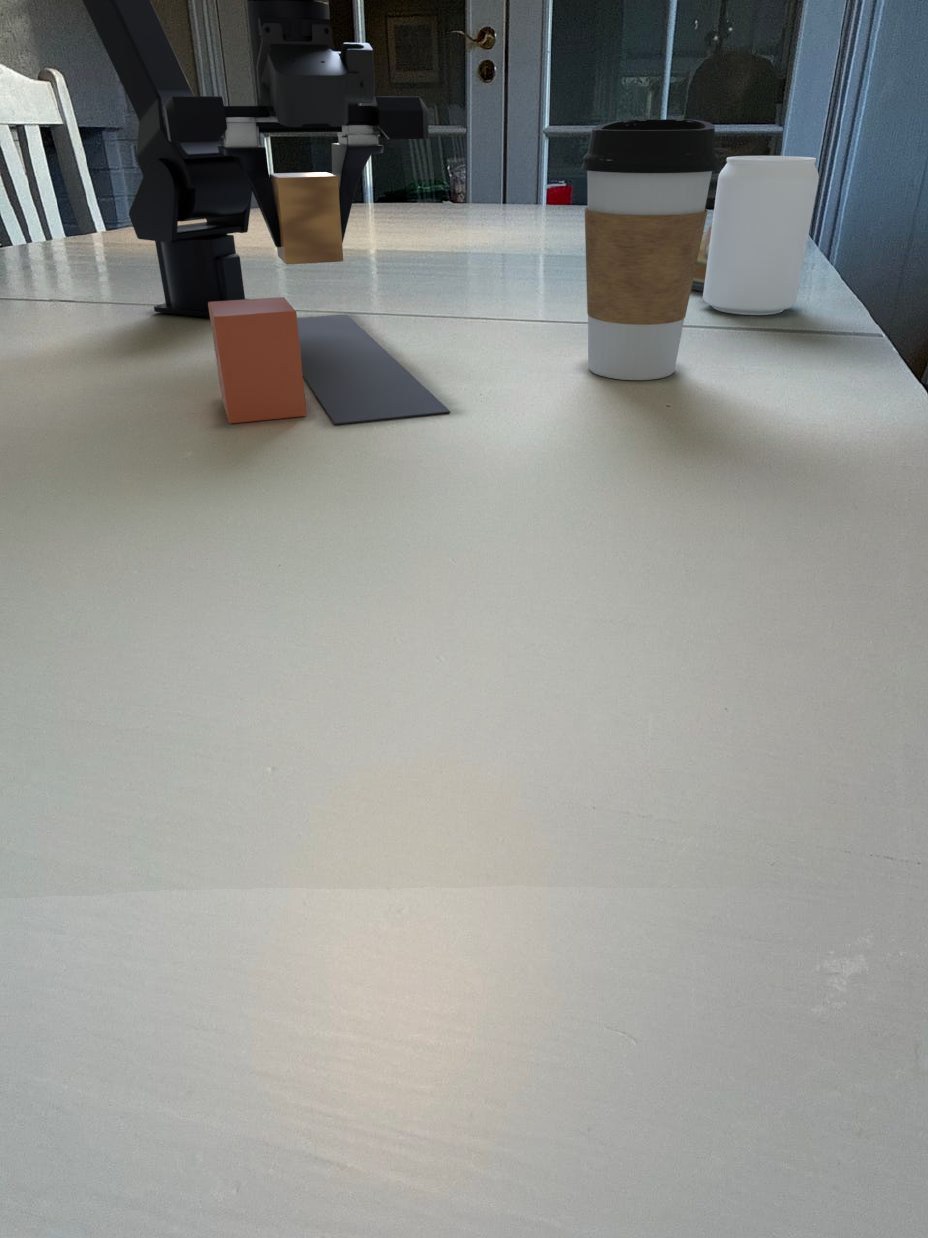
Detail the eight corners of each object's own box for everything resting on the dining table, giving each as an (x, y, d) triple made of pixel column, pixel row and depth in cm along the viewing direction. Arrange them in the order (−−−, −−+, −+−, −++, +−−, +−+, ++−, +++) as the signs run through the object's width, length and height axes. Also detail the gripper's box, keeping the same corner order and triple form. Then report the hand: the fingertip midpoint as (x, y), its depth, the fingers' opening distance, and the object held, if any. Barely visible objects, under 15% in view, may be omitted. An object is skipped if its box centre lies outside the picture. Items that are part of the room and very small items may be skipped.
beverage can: (800, 318, 74) (829, 160, 68) (703, 315, 76) (723, 159, 70) (789, 300, 81) (815, 155, 75) (700, 298, 82) (718, 155, 76)
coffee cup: (699, 359, 62) (730, 118, 55) (685, 390, 56) (718, 120, 48) (584, 350, 65) (599, 119, 57) (557, 379, 58) (569, 121, 50)
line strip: (450, 412, 52) (450, 411, 52) (334, 424, 50) (334, 423, 50) (347, 315, 76) (347, 314, 76) (267, 321, 74) (267, 320, 74)
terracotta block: (229, 424, 50) (213, 316, 47) (222, 402, 54) (207, 301, 51) (306, 416, 51) (296, 310, 48) (295, 395, 55) (284, 296, 52)
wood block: (285, 264, 67) (277, 177, 64) (277, 256, 70) (269, 173, 67) (343, 261, 68) (337, 175, 65) (332, 253, 72) (326, 171, 68)
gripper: (150, -14, 52) (192, 266, 59) (449, -4, 57) (451, 253, 65) (147, 4, 61) (184, 245, 69) (405, 11, 66) (412, 235, 74)
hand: (308, 245), depth 69 cm, fingers closed on wood block, 4 cm apart
